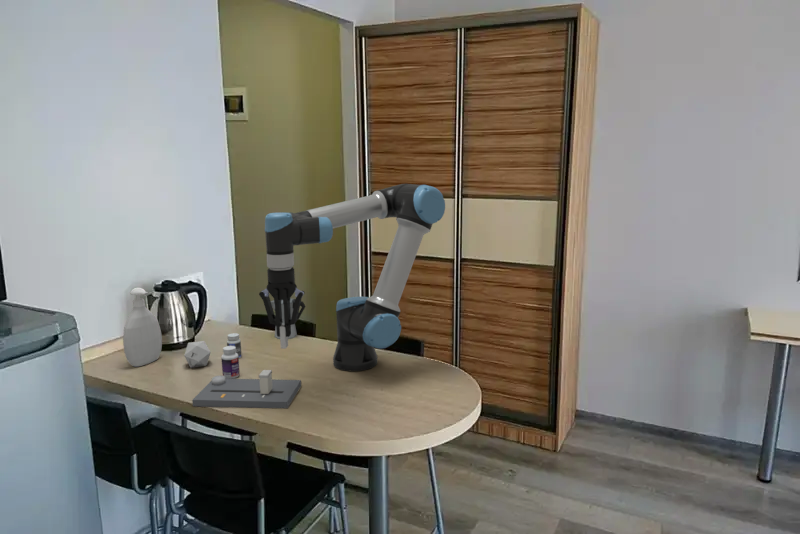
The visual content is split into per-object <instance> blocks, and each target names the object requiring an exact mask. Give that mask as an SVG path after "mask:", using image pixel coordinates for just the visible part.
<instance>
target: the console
mask: <svg viewBox="0 0 800 534" xmlns="http://www.w3.org/2000/svg"><path fill="white" fill-rule="evenodd" d="M301 387H302V380H301V379H276V378H275V379H273V378H272V390H271V391H270V393H269V394H261V393H260V378H232V379H226V378H225V376H223V375H215V376H213V377H212V378H211V380H210V381H209V383H207V385H205V386H204V387H203V389H202V390H200V391H199V392H198V393H197V395H195V396H194V398H192V400H191V401H192V407H205V408H206V407H207V408H208V407H210V408H211V407H213V408H247V409H248V408H249V409H250V408H251V409H252V408H256V409H288V408H289V407H290V405H291V404H292V402H293V400H294V398H295V396H296V395H297V393H298V392H299V390H300V389H301Z"/></svg>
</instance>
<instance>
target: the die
mask: <svg viewBox="0 0 800 534" xmlns="http://www.w3.org/2000/svg"><path fill="white" fill-rule="evenodd" d="M210 355H211V350H210V348H209V347H208V345H207V343H206V341H205V340H200V341H193V342H192V341H191V342H188V343H187V345H186V348H185V352H184V355H183V356H184V357H185V360H186V362H187V364H188V365H189V367H190V369H191V368H199V367H206V366H207V365H208V362H209V359H210Z"/></svg>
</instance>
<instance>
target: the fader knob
mask: <svg viewBox="0 0 800 534" xmlns="http://www.w3.org/2000/svg"><path fill="white" fill-rule="evenodd" d="M272 373H273V371H272V369H263V370H262V371H261V372H260V373H259V374H258V379H260V393H261V394H269V393H270V391H271V390H272V379H273V377H272V376H273V375H272Z"/></svg>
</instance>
